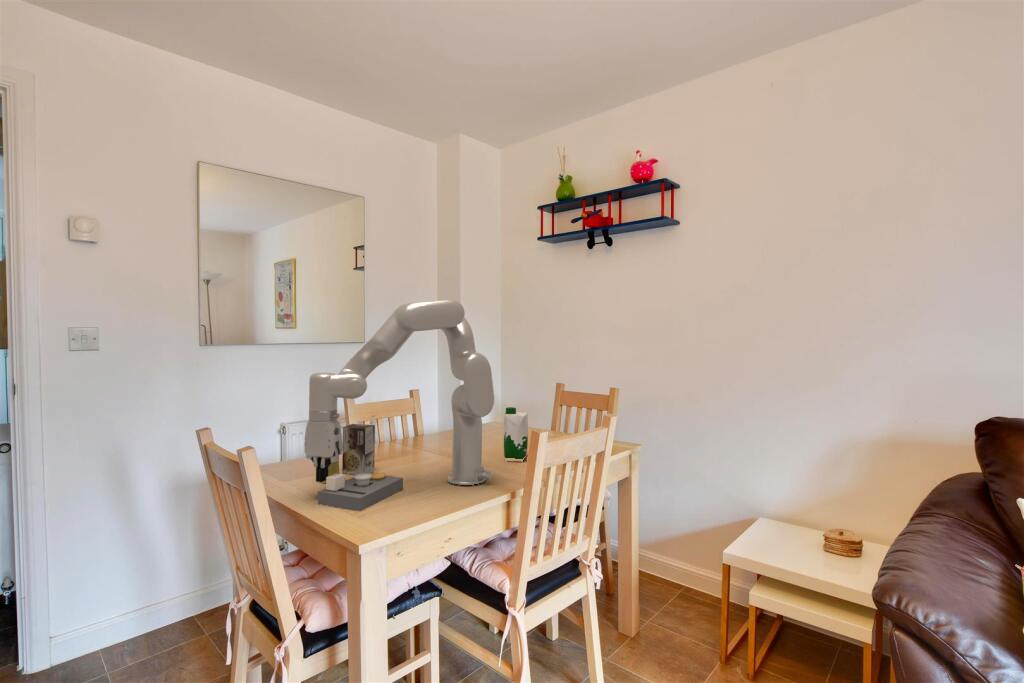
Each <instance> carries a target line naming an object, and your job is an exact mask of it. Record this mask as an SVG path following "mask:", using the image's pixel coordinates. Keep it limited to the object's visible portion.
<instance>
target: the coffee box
mask: <svg viewBox="0 0 1024 683" xmlns="http://www.w3.org/2000/svg"><path fill="white" fill-rule="evenodd" d="M375 427H376V425H375V424H365V423H364V424H363V423H361V424H360V423H350V424H347V425H345V426H342V427H341V429H342V454H341V455H342V461H341V463H342V466H341V467H342V468H341V469H342V470H341V472H342V473H344V474H343V475H354V476H355V475H356V474H360V473H371V474H372V473H375V456H376V455H375V452H376V451H375V449H376V448H375V447H376V446H375V444H376V431H375V430H376V428H375ZM342 473H341V474H342Z"/></svg>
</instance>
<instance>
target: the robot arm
mask: <svg viewBox="0 0 1024 683" xmlns="http://www.w3.org/2000/svg"><path fill="white" fill-rule="evenodd" d="M433 330H441V331H442V332H443V333H444V335H445V337H446V340H447V344H448V345H447V346H448V351H449V352H448V353H449V361H450V370H451V374H452V375H453V377H454V378H456V379H457V380H459V381H462V382H463V383H462V384H460V385H457V387H456V388H455V389H454V390H453V392H452V396H451V410H452V411H451V412H452V463H451V464H452V465H451V467H452V468H451V471H452V472H451V474H449V475H448V476H447V478H446V480H448V481H447V482H448V483H449V482H450V483H449V484H451V483H453V484H452V485H454V484H459V485H458V486H460V485H472V486H475V485H474V484H478V485H480V484H479V483H482V482H484V481H485V480H487V479H488V480H492V479H493V471H491V470H490V471H489V470H487V471H486V469H485V466H484V465H482V461H483V460H482V452H483V450H482V449H483V446H482V444H483V420H482V418H484V417H486V416H488V415H489V414H490V413H492V410H493V409H494V405H495V394H494V393H495V391H494V383H493V374H492V368H491V365H490V362H489V360H488V358H487V357H486V356H485V355H484V354H482V353H479V352H477V350H476V345H475V340H474V339H475V338H474V334H473V330H472V327H471V325H470V323H469V322H468V320H467V319H466V318H465V309H464V307H463V304H461V303H460V302H459V301H458V300H456V299H451V298H450V299H441V300H433V301H422V302H421V301H420V302H410V303H405V304H401V305H399V306H398V307H397V308H396V309H394V311H393V312H392V314H391V315H390V316H389V317H388V318H387V319H386V320H385V322H384V323H383V324H382V325H381V326H380V327H379V329H378V330H377V331H376V332H375V333H374V334H373V336H371V338H370V339H369V340H368V341H367V342H365V344H364V345H363V346H362V347H361V348H360V349H359V350H358V351H357V352H356V353H355V354H354V355H353V356H352V357H351V358H350V359H349V360H348V362H346V364H345V365H344V366H343V367H342V368H341V370H340V371H339V373H338V374H336V373H333V372H317V373H313V374H311V375H310V376H309V381H308V382H309V383H308V384H309V391H308V393H309V394H308V395H309V396H308V420H307V423H306V428H305V434H304V444H303V447H304V453H305V458H306V459H308V460H310V461H312V463H313V466H314V468H315V482H319V483H320V482H323V481H326V477H328V466H330V465H331V463H332V462H336V461H340V458H339V457H340V455H342V440H343V432H342V427H341V423H340V421H339V420H338V419H339V418H340V413H338V398H339V399H348V400H349V399H350V400H351V399H358V398H360V397H362V396H364V394H365V393H366V391H367V388H368V383H367V380H366V379H367V378H368V377H369V375H370V374H372V372H373V371H374V370H375V369H377V368H378V367H379V366H380V365H382V364H384V363H385V362H387V361H390V360H391V359H392V358H393V357H394V356H395V355H396V354H397V353H398V352H399V351H400V349H401V348H402V347H403V345H404V344H406V342H407V341H408V339H410V337H411V336H412V335H413V333H414V332H421V331H423V332H424V331H433ZM326 459H327V460H326ZM485 482H486V481H485ZM485 482H484V483H485ZM482 484H483V483H482Z"/></svg>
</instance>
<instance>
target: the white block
mask: <svg viewBox="0 0 1024 683" xmlns="http://www.w3.org/2000/svg"><path fill="white" fill-rule="evenodd" d="M345 477H346V474H342V473H339V474H333V475H331V476H328V477H326V484H325V485H326V486H325V489H326V490H332V491H338V490H339V489H341V488H343V487H345V481H346V480H345Z"/></svg>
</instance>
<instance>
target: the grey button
mask: <svg viewBox="0 0 1024 683" xmlns="http://www.w3.org/2000/svg"><path fill="white" fill-rule="evenodd" d="M371 474H372V473H371ZM371 474H369V473H360V474H356V475H354V476H353V477H354V479H355V480H356V486H359V487H366V486H369V479H371V476H372V475H371Z"/></svg>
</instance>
